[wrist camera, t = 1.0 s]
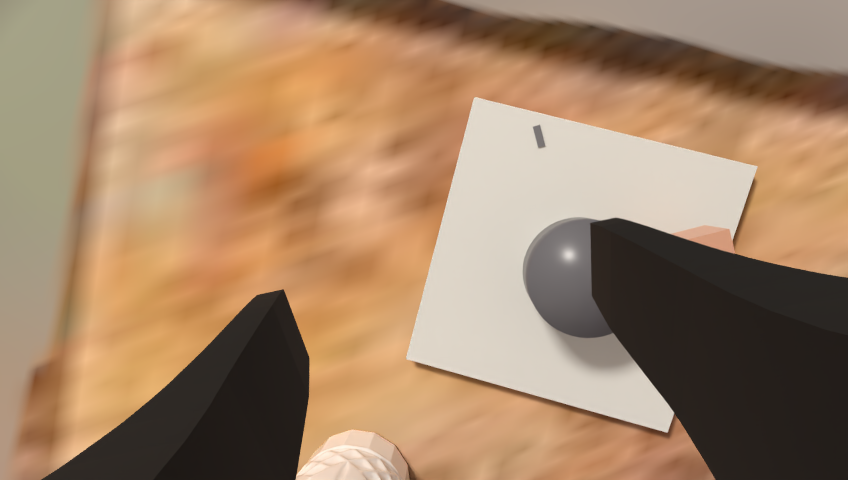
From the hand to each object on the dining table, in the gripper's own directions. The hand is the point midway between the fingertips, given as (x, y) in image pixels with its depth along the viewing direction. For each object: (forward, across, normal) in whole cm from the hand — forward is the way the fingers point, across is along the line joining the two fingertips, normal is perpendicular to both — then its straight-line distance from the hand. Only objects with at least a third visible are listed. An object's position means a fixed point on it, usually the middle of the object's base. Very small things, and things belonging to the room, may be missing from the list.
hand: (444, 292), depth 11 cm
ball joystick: (+12, -10, +9) cm, 18 cm away
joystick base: (+15, -8, +10) cm, 20 cm away
